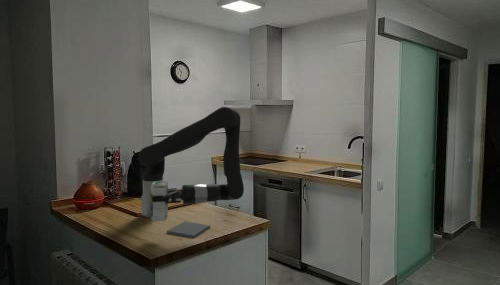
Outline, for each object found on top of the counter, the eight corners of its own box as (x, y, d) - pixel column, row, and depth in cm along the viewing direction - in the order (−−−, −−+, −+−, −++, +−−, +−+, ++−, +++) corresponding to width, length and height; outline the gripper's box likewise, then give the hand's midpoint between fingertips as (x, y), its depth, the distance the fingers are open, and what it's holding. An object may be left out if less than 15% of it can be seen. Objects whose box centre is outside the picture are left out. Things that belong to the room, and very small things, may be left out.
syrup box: (153, 216, 138) (152, 181, 136) (168, 216, 138) (167, 180, 136) (150, 221, 132) (149, 184, 130) (166, 221, 132) (165, 184, 131)
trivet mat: (166, 233, 141) (166, 230, 141) (184, 223, 153) (184, 221, 153) (193, 238, 136) (193, 235, 136) (210, 227, 148) (210, 225, 148)
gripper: (191, 181, 145) (150, 183, 139) (197, 188, 131) (152, 191, 126) (191, 198, 146) (150, 201, 140) (197, 208, 132) (152, 211, 127)
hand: (151, 196), depth 133 cm, fingers closed on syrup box, 6 cm apart
